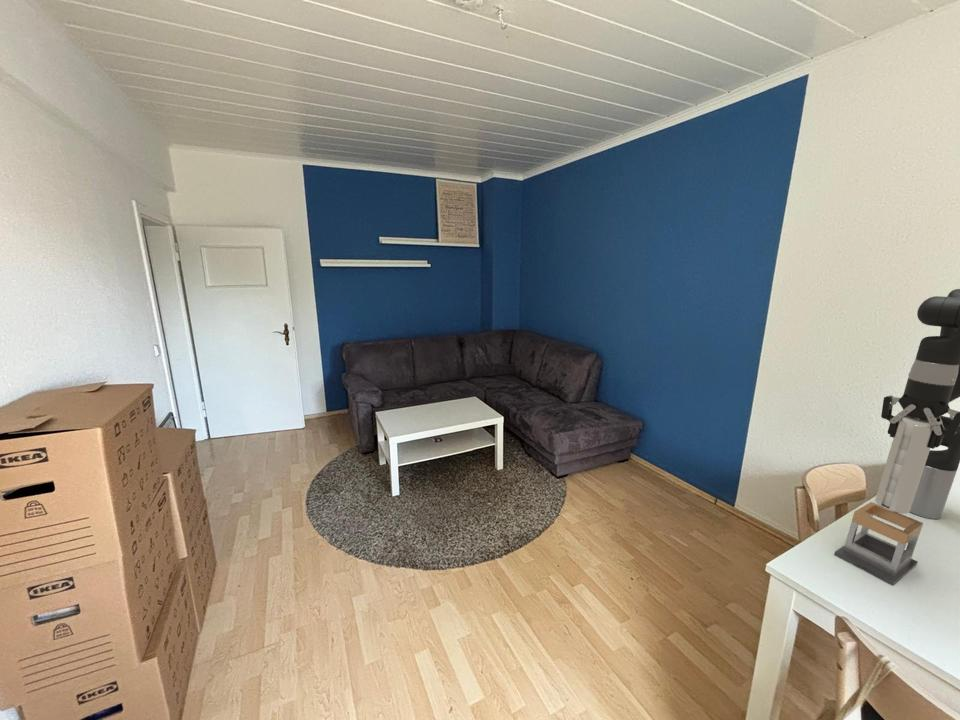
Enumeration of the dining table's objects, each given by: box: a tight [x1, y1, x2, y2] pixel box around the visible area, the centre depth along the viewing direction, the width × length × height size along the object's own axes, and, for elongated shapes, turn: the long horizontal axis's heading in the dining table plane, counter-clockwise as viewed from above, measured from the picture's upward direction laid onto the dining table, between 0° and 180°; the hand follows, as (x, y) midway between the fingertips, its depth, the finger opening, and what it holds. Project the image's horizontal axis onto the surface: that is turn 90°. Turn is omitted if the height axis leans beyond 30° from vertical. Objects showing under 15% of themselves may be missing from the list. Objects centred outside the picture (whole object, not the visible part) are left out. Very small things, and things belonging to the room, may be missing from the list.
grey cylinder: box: [874, 415, 935, 514], centre depth 100 cm, size 6×6×25 cm
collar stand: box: [833, 501, 924, 586], centre depth 105 cm, size 16×12×14 cm
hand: (911, 441), depth 98 cm, fingers closed on grey cylinder, 6 cm apart
